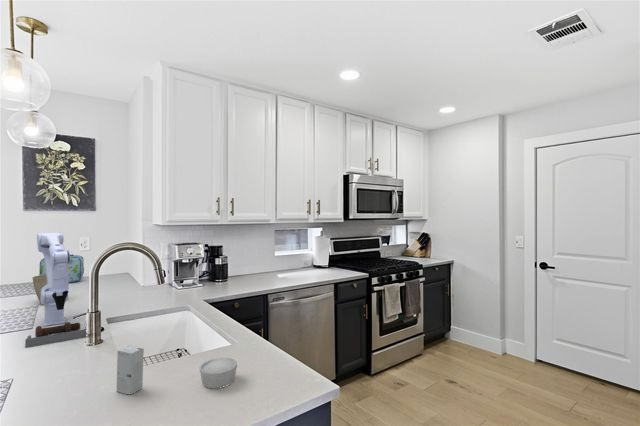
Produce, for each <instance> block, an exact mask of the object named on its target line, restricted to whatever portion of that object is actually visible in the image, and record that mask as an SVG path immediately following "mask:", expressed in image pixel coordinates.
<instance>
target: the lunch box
mask: <svg viewBox="0 0 640 426" xmlns="http://www.w3.org/2000/svg"><path fill="white" fill-rule="evenodd" d="M84 263H85V262H84V257H83V256H81V255H77V254H75V255H74V254H70V263H68V284H69V283H77V282H79V281H81V280H82V279H83V277H84V274H85V267H84V265H85V264H84ZM38 274H39V275H46V266H45V258H44V257H43V258H42V259H40V261H39V273H38ZM39 275H38V276H39Z"/></svg>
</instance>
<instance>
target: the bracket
mask: <svg viewBox="0 0 640 426" xmlns="http://www.w3.org/2000/svg"><path fill="white" fill-rule="evenodd" d="M82 338H87V337H86V326H85V327H84V329H79V330H74V331H71V332H66V333H64V332H61V333H56V334H51V335H47V336H41V337H36V336H35V337H32V335H31V334H30V335H27V337H26V338H25V341H24V342H25V348H30V347H37V346H42V345H47V344H54V343H59V342H65V341H70V340H77V339H82Z"/></svg>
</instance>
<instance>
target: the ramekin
mask: <svg viewBox="0 0 640 426" xmlns="http://www.w3.org/2000/svg"><path fill="white" fill-rule="evenodd" d="M237 367H238V361H237V360H235V359H233V358H229V357H217V358H213V359H209V360H207V361H205V362H202V364H200V366H199V373H200V377H201V383H202V385H203V386H204V387H205V386H206V387H205V388H207V387H208V388H207V389H210V388H220V387H223V386H226V385H228V384H230V383H231V382H232V383H233V382H234V381H235V377H236V373H237ZM232 383H231V384H232ZM231 384H230V385H231ZM228 386H229V385H228ZM226 387H227V386H226ZM220 389H221V388H220Z"/></svg>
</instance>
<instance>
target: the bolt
mask: <svg viewBox="0 0 640 426" xmlns="http://www.w3.org/2000/svg"><path fill="white" fill-rule="evenodd" d="M78 330H81V323H80V322H74V323H71V322H70V321H68V322H65V323H63V324H61V325H54V326H49V327H44V328H43V327H42V325H39V326H36V327H35V337H41V336H47V335H54V334H60V333H66V332H72V331H78Z"/></svg>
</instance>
